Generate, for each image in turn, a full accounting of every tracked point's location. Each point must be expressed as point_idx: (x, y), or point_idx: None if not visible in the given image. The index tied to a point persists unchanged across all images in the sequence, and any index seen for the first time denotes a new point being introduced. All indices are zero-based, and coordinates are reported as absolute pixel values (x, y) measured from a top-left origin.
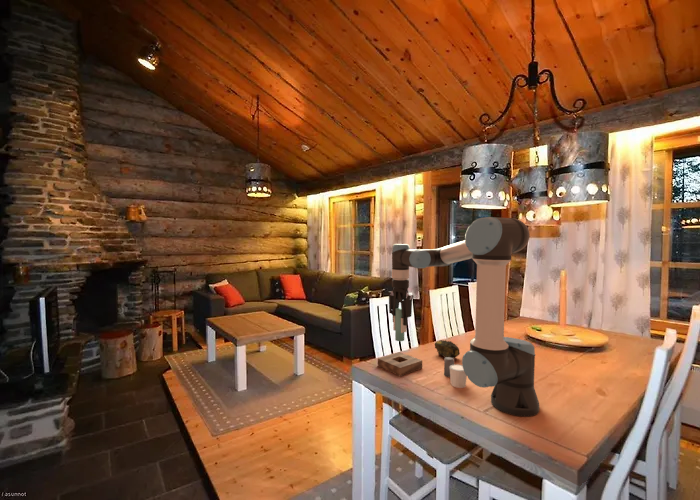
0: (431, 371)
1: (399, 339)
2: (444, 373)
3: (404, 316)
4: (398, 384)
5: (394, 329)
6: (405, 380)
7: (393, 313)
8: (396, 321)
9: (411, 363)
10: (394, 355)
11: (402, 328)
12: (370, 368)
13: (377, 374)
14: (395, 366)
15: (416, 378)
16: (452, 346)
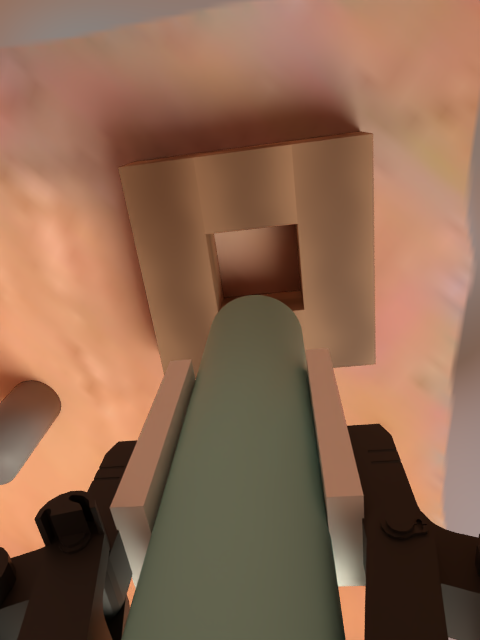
0: (114, 366)
1: (219, 316)
2: (37, 388)
3: (44, 554)
4: (22, 57)
5: (308, 356)
6: (61, 146)
7: (382, 542)
8: (243, 420)
9: (151, 290)
10: (342, 291)
11: (157, 396)
12: (357, 48)
13: (232, 25)
14: (167, 161)
15: (63, 228)
16: None
